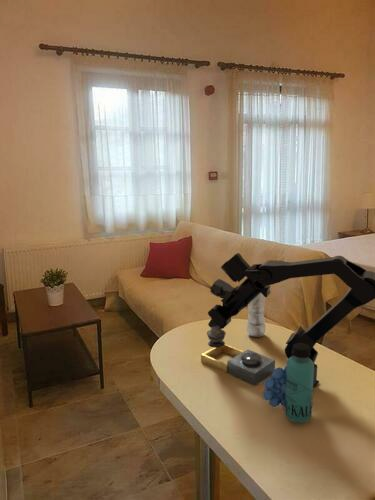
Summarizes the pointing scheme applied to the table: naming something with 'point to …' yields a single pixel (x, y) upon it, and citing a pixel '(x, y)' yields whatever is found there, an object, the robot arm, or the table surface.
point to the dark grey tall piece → (216, 337)
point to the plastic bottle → (256, 316)
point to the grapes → (276, 387)
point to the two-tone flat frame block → (241, 364)
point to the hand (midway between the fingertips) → (212, 323)
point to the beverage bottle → (299, 384)
